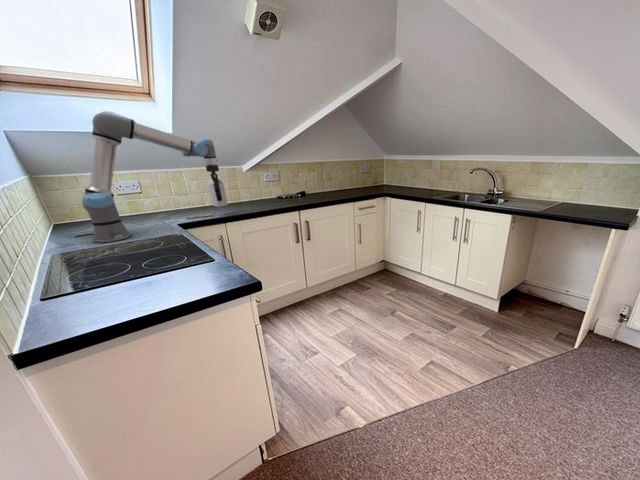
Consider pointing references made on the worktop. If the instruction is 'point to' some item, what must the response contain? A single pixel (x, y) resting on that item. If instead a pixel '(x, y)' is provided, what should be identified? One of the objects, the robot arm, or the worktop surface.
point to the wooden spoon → (200, 216)
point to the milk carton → (214, 196)
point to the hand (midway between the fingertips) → (219, 199)
